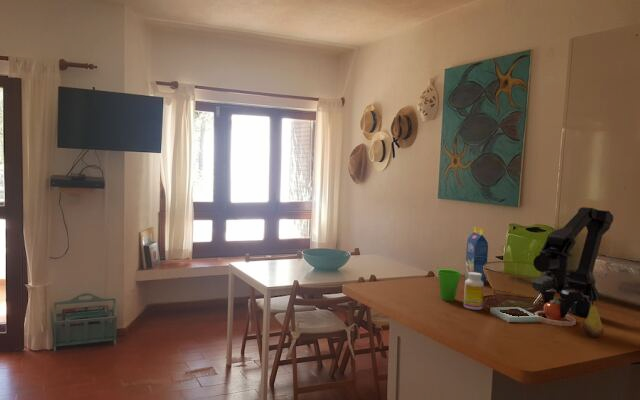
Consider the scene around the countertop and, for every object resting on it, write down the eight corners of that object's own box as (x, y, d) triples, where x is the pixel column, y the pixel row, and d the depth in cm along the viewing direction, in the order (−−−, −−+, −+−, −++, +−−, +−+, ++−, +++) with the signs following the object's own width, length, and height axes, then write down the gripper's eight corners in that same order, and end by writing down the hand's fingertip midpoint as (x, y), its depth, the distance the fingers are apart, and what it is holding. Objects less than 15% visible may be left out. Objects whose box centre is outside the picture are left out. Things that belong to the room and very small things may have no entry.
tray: (518, 312, 174) (518, 307, 174) (539, 322, 163) (539, 316, 162) (490, 312, 171) (490, 307, 171) (508, 322, 160) (509, 317, 160)
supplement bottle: (483, 311, 173) (485, 276, 172) (464, 309, 174) (466, 274, 174) (480, 306, 179) (483, 272, 179) (462, 304, 181) (464, 270, 180)
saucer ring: (557, 314, 173) (558, 310, 173) (583, 325, 161) (583, 321, 161) (526, 314, 171) (527, 311, 171) (550, 326, 158) (551, 322, 158)
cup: (432, 295, 192) (434, 268, 191) (454, 296, 193) (456, 269, 192) (440, 302, 183) (442, 273, 182) (463, 302, 184) (465, 274, 183)
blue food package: (472, 283, 219) (475, 229, 218) (464, 277, 231) (467, 226, 230) (485, 283, 219) (489, 229, 218) (477, 278, 231) (480, 226, 230)
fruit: (594, 340, 146) (598, 301, 146) (578, 334, 151) (581, 296, 151) (607, 338, 148) (610, 300, 148) (590, 332, 154) (593, 295, 153)
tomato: (561, 324, 160) (562, 301, 160) (538, 319, 166) (540, 296, 166) (570, 321, 165) (571, 298, 165) (548, 315, 171) (549, 293, 171)
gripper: (520, 264, 172) (517, 307, 173) (556, 275, 154) (552, 323, 155) (547, 264, 175) (544, 306, 175) (586, 275, 156) (582, 322, 157)
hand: (554, 314), depth 166 cm, fingers closed on tomato, 7 cm apart
